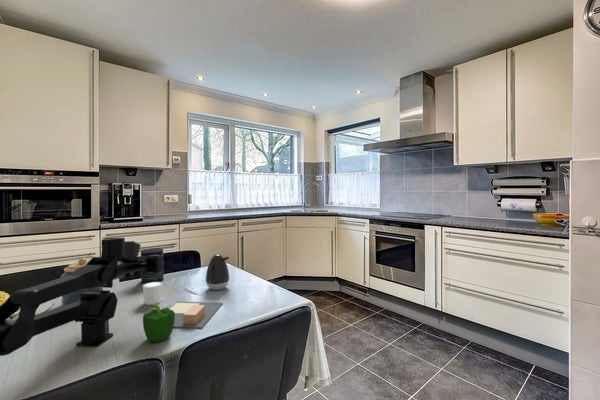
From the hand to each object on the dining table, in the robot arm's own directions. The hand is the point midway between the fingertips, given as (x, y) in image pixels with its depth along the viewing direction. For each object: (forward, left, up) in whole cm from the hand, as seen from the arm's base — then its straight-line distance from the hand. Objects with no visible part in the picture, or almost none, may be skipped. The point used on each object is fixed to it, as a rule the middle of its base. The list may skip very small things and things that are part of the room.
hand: (150, 261), depth 108 cm
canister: (+1, +28, -17) cm, 32 cm away
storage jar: (+29, +17, -17) cm, 37 cm away
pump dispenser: (+21, -18, -17) cm, 33 cm away
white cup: (+4, +2, -17) cm, 18 cm away
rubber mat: (-6, -17, -17) cm, 25 cm away
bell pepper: (-23, -16, -17) cm, 33 cm away
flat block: (-10, -21, -16) cm, 29 cm away
